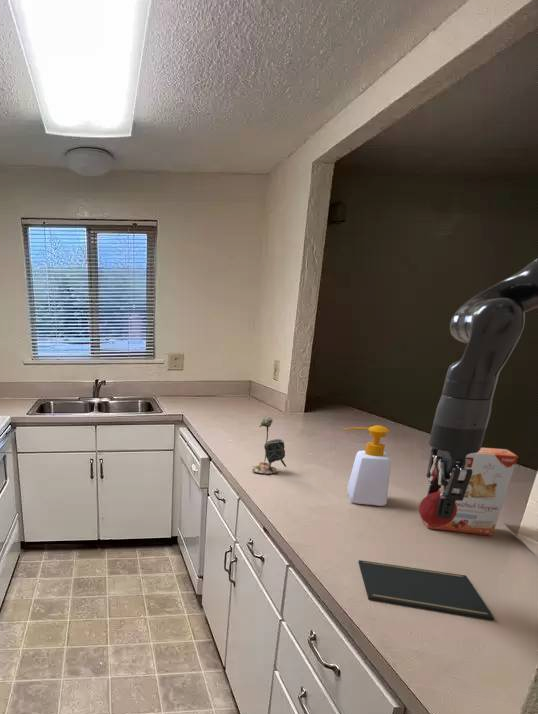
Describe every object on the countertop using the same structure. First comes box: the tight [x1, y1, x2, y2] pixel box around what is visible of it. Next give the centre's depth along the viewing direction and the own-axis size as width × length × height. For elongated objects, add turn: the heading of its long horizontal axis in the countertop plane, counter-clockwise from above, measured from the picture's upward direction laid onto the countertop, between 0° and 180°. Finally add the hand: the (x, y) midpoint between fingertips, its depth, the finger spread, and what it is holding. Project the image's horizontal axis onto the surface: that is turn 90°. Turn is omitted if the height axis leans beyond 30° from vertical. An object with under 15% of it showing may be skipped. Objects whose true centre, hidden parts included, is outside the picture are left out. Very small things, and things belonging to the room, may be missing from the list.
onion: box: [418, 488, 457, 528], centre depth 81 cm, size 6×6×8 cm
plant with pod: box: [252, 415, 287, 475], centre depth 147 cm, size 8×11×20 cm
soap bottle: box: [342, 424, 392, 507], centre depth 124 cm, size 10×14×22 cm
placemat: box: [358, 559, 495, 621], centre depth 86 cm, size 20×14×1 cm
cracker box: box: [421, 447, 519, 537], centre depth 106 cm, size 14×6×21 cm, turn 72°
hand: (437, 510), depth 81 cm, fingers closed on onion, 6 cm apart
